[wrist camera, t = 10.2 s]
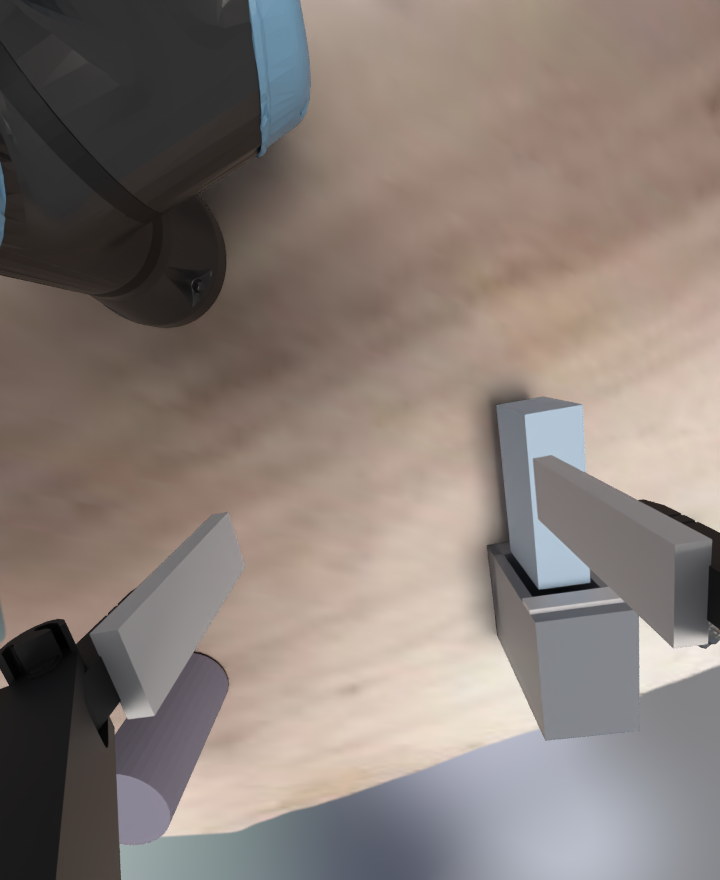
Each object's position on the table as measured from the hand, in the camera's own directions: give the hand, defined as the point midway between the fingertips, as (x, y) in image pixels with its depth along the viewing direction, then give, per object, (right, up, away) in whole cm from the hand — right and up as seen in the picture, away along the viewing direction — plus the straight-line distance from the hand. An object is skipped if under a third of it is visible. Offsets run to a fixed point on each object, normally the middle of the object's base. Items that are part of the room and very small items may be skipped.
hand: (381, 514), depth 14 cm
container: (-25, -32, +36) cm, 55 cm away
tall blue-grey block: (+18, -1, +24) cm, 30 cm away
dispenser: (+21, -16, +30) cm, 40 cm away
